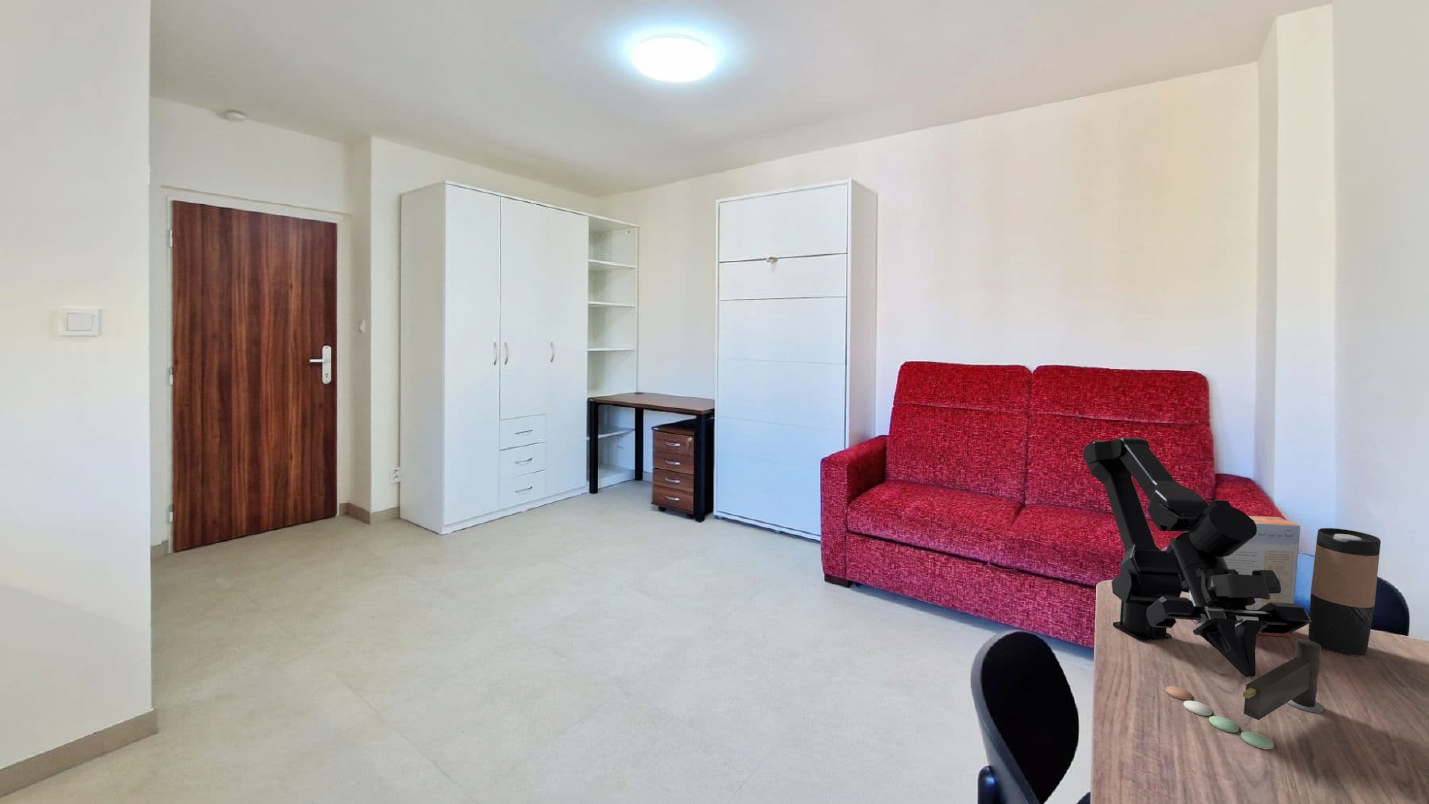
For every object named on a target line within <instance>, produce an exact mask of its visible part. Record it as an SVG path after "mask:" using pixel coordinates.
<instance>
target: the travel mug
mask: <svg viewBox="0 0 1429 804" xmlns="http://www.w3.org/2000/svg"><path fill="white" fill-rule="evenodd" d="M1315 543H1316V544H1315V553H1314V561H1313V570H1312V579H1311V587H1310V598H1309V599H1310V600H1309V602H1310V603H1309V614H1308V616H1309V618H1310V619H1311V621H1312V622H1311V623H1309V624H1308V640H1310V641H1313V642H1316V643H1318V644H1320V645H1321V649H1324V650H1327V651H1329V652H1332V651H1333V653H1336V652H1337V653H1336V654H1340V653H1341V655H1345V656H1351V655H1353V656H1354V657H1362V655H1363V656H1365V655H1367V652H1368V648H1369V642H1370V635H1371V629H1372V624H1373V617H1374V612H1375V611H1374V610H1375V603H1376V593H1377V585H1378V575H1379V574H1378V573H1379V564H1380V563H1379V562H1380V555H1381V554H1380V553H1381V539H1380V538H1379V537H1378V536H1375V535H1372V534H1370V533H1366V532H1361V531H1356V530H1349V529H1344V528H1333V527H1325V528H1324V527H1323V528H1318V530H1317V534H1316V542H1315Z"/></svg>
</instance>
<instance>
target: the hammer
mask: <svg viewBox="0 0 1429 804" xmlns="http://www.w3.org/2000/svg"><path fill="white" fill-rule="evenodd" d="M1321 653H1322V648H1321V645H1320V644H1318V643H1316V642H1313V641H1310V640H1309V639H1306V638H1297V639H1295V648H1294V657H1293V658H1291V659H1289V660H1287V661H1286V662H1284V663H1282V664H1279V665H1278V666H1277V667H1275V668H1273V669H1271V670H1269V671H1267V672H1265V673H1264V674H1261V675H1260V676H1259V677H1256V678H1255V679H1253V680H1252V681H1249V682H1248V683H1246V684H1245V690H1244V691H1243V692H1242V697H1244V704H1243V705H1244V706H1243V715H1244V716H1245V715H1246V716H1248V717H1250V718H1253V719H1254V720H1257V721H1260V720H1262V719H1263V718H1265V717H1266V716H1268V715H1270V714H1272V713H1273V712H1275V710H1277V709H1279V708H1280V707H1282V706H1283V705H1285V704H1287V702H1289V701H1290V700H1292V701H1294V702H1295V703H1297V704H1300V705H1303V706H1307V707H1314V706H1315V702H1316V701H1317V691H1318V683H1319V673H1320V663H1321Z"/></svg>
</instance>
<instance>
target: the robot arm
mask: <svg viewBox="0 0 1429 804" xmlns="http://www.w3.org/2000/svg"><path fill="white" fill-rule="evenodd" d="M1082 450H1083V451H1082V456H1083V461H1084V462H1085V463H1086V465H1087V467H1088V470H1089V472H1090V474H1091V475H1092V476H1093V477H1094V478H1096V479H1097V480H1098V481H1100V483H1102V485H1103V486H1104V489H1105V492H1106V495H1107V499H1108V500H1109V501H1108V502H1109V504H1110V507H1111V511H1112V514H1113V517H1114V521H1115V524H1116V526H1117V529H1118V533H1119V536H1120V539H1121V542H1122V545H1123V548H1124V551H1125V552H1124V556H1123V558H1122V560H1121V563H1120V566H1119V569H1120V573H1118V574H1117V576H1116V577H1114V579H1112V581H1111V589H1112V593H1113V595H1115V596H1116V598H1118V599H1119V600H1120V601H1121V603H1120V614H1119V621H1113V622H1112V626H1113V627H1115V628H1117V629H1119V628H1120V629H1121V631H1122V630H1123V633H1126V632H1127V633H1126V634H1128V635H1130V636H1131V637H1133V638H1135V639H1137V640H1139V641H1141V642H1149V641H1159V640H1165V639H1172V636H1173V635H1172V634H1171V633H1169V632H1167V631H1168V630H1167V629H1172V628H1173V627H1174V626H1175V625H1176V623H1177V620H1188V621H1190V620H1191V621H1192V620H1195V626H1196V628H1195V629H1193V630H1192V632H1193V634H1194V635H1195V636H1200V637H1202V638H1203V639H1204V640H1205V641H1206V642H1207V643H1209V645H1211V646H1212V647H1214V649H1216V650H1217V651H1218V652H1219V653H1220V654H1221V655H1222V656H1223V657H1224V658H1225V659H1226V660H1227V661H1228V662H1229V663H1230V664H1231V665H1232V666H1233V667H1234V668H1235V669H1236V670H1237V671H1238V673H1240V674H1241V675H1242V676H1243V677H1244V678H1245V679H1253V678H1255V677H1257V676H1256V675H1257V673H1256V671H1257V666H1256V665H1257V664H1256V644H1257V637H1258V635H1259V634H1258V632H1259V631H1260V632H1261V633H1263V634H1275V635H1286V634H1290V633H1292V634H1293V633H1294V632H1296V631H1298V630H1299V629H1302V628H1304V627H1305V626H1307V625H1309V623H1311V622H1312V621H1311V619H1310V618H1309V614H1308V612H1307V610H1306V609H1305V608H1304V607H1303V606H1301V605H1299V604H1297V603H1295V602H1294V603H1276V602H1269V603H1268V604H1266V605H1265V606H1263V607H1261V608H1260V609H1258V610H1250V609H1247V608H1246V606H1247V605H1253V604H1254V603H1256V602H1255V600H1254V598H1262V599H1266V600H1269V599H1271V598H1270V594H1277V593H1280V592H1281V585H1280V581H1279V579H1278V578H1277V576H1276V575H1275V573H1274V571H1273V570H1259V571H1258V570H1253V571H1252V575H1240V574H1239V573H1238V572H1237V571H1236V570H1235V569H1228V567H1227V564H1226V562H1225V560H1224V558H1223V557H1226V556H1229V555H1231V554H1233V553H1234V552H1235V551H1236V550H1238V549H1239V548H1240V547H1241V546H1243V545H1244V544H1245V543H1247V542H1248V541H1249V540H1250V539H1252V538H1253V537H1254V536H1255V535H1256V532H1257V527H1256V524H1255V522H1254V520H1253V519H1251V518H1250V517H1249V516H1250V515H1248V514H1247V513H1245V512H1244V511H1242V510H1241V509H1239V508H1236V507H1234V506H1232V504H1231V503H1230V501H1229V500H1226V499H1213V500H1211V502H1210V503H1209V502H1207V501H1206V500H1205V499H1204V497H1202V496H1201V495H1200V494H1198V493H1197V492H1196V491H1194V490H1192V489H1190V488H1188V487H1185V486H1184V485H1181V484H1180V483H1178V482H1177V481H1176V479H1174V477H1173V476H1172V475H1171V473H1170V472H1169V471H1168V470H1167V469H1166V467H1165V466H1164V464H1163V463H1162V462H1161V461H1160V460H1159V458H1158V457H1157V456H1156V455H1155V453H1154V452H1153V451H1152V449H1151V448H1150V443H1149V442H1148V440H1147V439H1143V438H1142V437H1119V438H1114V439H1112V440H1091V441H1090V442H1089V443H1088V445H1085V446H1084V448H1083V449H1082ZM1133 479H1134V480H1135V481H1136V483H1137V484H1138V485H1139V487H1140V488H1141V490H1142V491H1143V493H1144V494H1145V495H1146V497H1147V499H1148V501H1149V502H1148V506H1147V508H1146V509H1147V510H1146V511H1147V513H1148V514H1149V516H1150V519H1151V521H1152V522H1153V524H1154V526H1155V527H1156V528H1157V529H1158V530H1159V531H1161V532H1172V533H1173V532H1175V533H1180V534H1179V535H1177V536H1176V537H1171V538H1170V542H1169V544H1168V545H1167V547H1166V550H1161V548H1160V547H1158V545H1156V542H1155V539H1154V537H1153V533H1152V530H1151V527H1150V524H1149V522H1148V520H1147V517H1146V514H1145V511H1144V508H1143V505H1142V502H1141V499H1140V498H1139V493H1138V491H1137V488H1136V486H1135V483H1134V480H1133ZM1174 555H1175V556H1174ZM1176 560H1177V561H1176ZM1177 562H1178V565H1179V567H1180V569H1179V568H1178V565H1177ZM1180 570H1181V571H1180ZM1181 573H1182V575H1183V578H1184V580H1183V578H1182V576H1181ZM1183 589H1184V590H1188V591H1189V590H1190V593H1191V595H1192V598H1193V600H1194V602H1195V605H1196V606H1194V604H1193V602H1192V601H1191V600H1189V597H1185V596H1183V597H1182V596H1181V595H1182V592H1183ZM1120 629H1119V630H1120Z"/></svg>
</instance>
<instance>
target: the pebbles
mask: <svg viewBox="0 0 1429 804" xmlns="http://www.w3.org/2000/svg"><path fill="white" fill-rule="evenodd" d="M1164 691H1165V692H1166V694H1168V696H1171V697H1173V698H1175V699H1178V700H1180V701H1181V700H1182V701H1183V707H1184V708H1185V710H1187V711H1189V712H1190V713H1193V714H1195V715H1198V716H1202V717H1203V716H1204V717H1209V718H1208V722H1209V725H1211V726H1213V727H1214V728H1216V729H1218V730H1221V731H1223V732H1226V733H1232V734H1235V733H1238V732H1239V731H1240V726H1239V724H1237V723H1236V722H1234V721H1233V720H1231V719H1229V718H1226V717H1223V716H1219V715H1212V714H1213V710H1212V709H1211V707H1209V706H1207V705H1206V704H1205V703H1201V702H1199V701H1196V700H1192V699H1193V694H1192V693H1191V692H1190V691H1189V690H1187V689H1184V688H1182V687H1178V686H1175V685H1174V686H1173V685H1168V686H1166V687H1165V690H1164ZM1286 704H1288V705H1290V706H1291V707H1293V708H1295V709H1298V710H1301V711H1304V712H1307V713H1314V714H1315V713H1316V714H1317V713H1319V714H1320V713H1323V712H1324V711H1325V707H1324V706H1323V704H1321V703H1320V702H1318V701H1317V700H1316V702H1315V706H1314V707H1307V706H1303V705H1300V704H1297V703H1295V702H1294V701H1292V700H1290V701H1289V702H1287V703H1286ZM1211 715H1212V716H1211ZM1240 738H1241V739H1242V740H1243V742H1245V743H1246V744H1248V745H1250V746H1252V747H1254V748H1257V749H1260V748H1266V749H1267V748H1272V749H1274V742H1273V741H1272V740H1271V739H1270V738H1268V737H1266V736H1264V735H1262V734H1259V733H1256V732H1252V731H1242V732H1241V734H1240Z"/></svg>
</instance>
